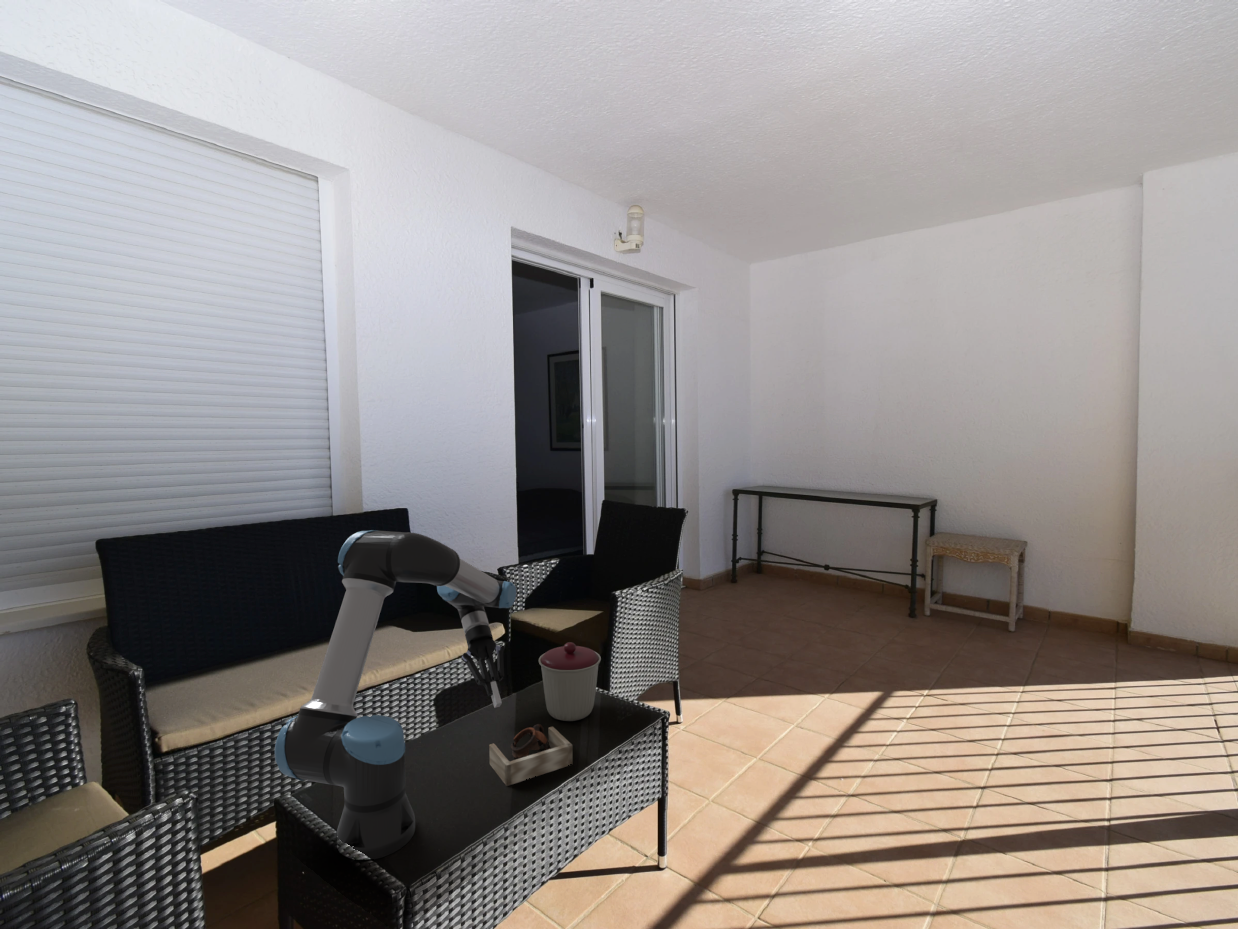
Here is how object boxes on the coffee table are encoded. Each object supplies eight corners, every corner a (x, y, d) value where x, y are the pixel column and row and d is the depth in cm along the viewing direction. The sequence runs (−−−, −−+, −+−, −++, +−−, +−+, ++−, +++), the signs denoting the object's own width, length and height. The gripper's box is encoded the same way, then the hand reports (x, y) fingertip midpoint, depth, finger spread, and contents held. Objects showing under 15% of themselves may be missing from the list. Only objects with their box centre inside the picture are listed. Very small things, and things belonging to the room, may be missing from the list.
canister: (564, 735, 169) (563, 659, 167) (526, 712, 182) (526, 642, 181) (613, 714, 181) (613, 643, 179) (575, 694, 194) (574, 628, 193)
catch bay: (506, 786, 145) (506, 765, 144) (489, 764, 154) (489, 744, 154) (572, 764, 154) (572, 745, 154) (552, 744, 163) (552, 726, 163)
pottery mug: (552, 769, 153) (535, 744, 151) (519, 781, 155) (502, 757, 153) (559, 734, 164) (544, 710, 162) (529, 746, 166) (513, 723, 164)
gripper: (494, 632, 191) (516, 705, 178) (453, 640, 184) (472, 716, 171) (500, 620, 187) (523, 694, 173) (458, 627, 180) (478, 705, 167)
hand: (498, 705), depth 172 cm, fingers closed
